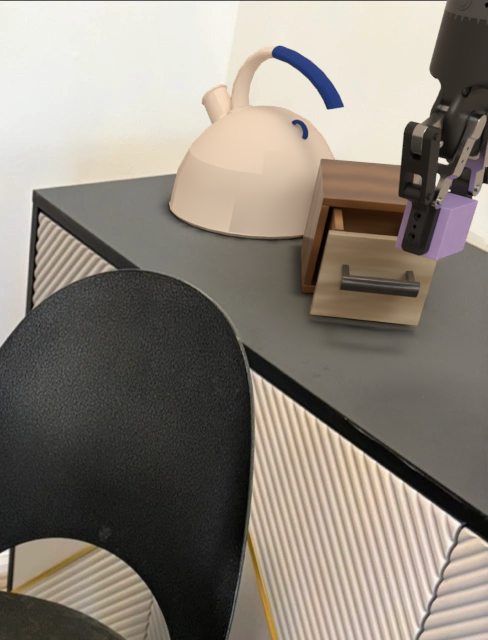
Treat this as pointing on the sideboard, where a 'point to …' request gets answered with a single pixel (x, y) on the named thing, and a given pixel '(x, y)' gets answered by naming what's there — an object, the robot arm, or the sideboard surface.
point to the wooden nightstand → (346, 202)
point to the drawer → (369, 269)
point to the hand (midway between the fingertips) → (429, 245)
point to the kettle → (254, 159)
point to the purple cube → (446, 226)
